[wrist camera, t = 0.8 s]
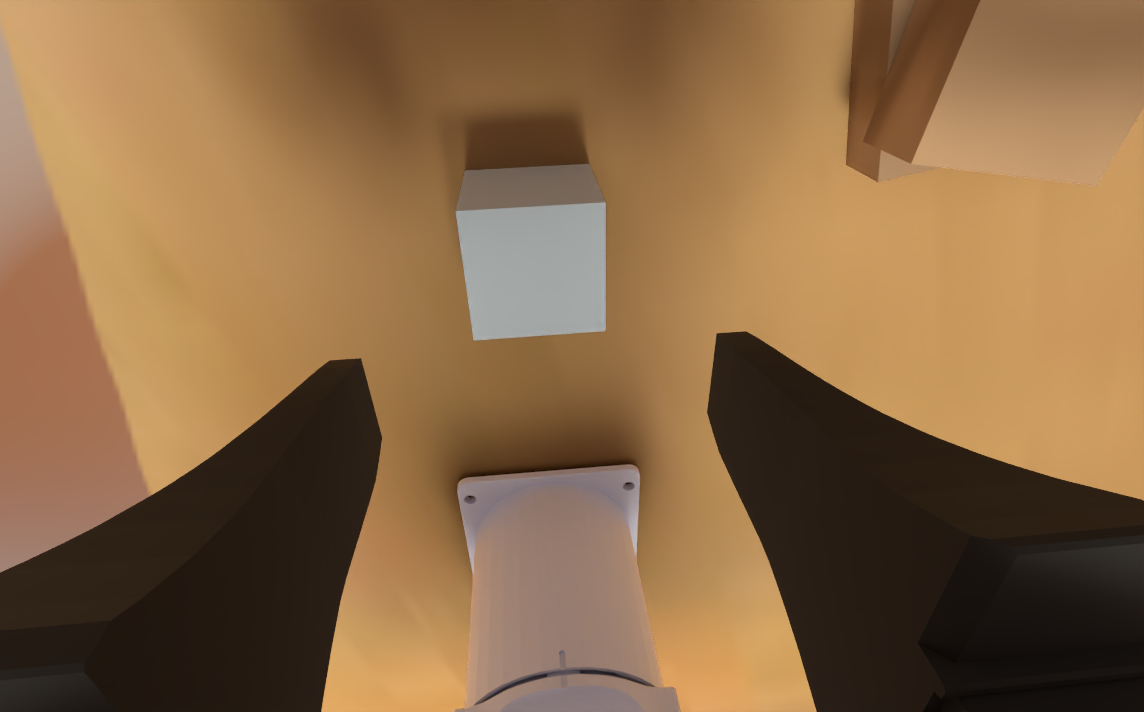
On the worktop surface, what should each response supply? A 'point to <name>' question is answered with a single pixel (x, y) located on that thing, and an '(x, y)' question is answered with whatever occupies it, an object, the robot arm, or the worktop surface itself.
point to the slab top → (1014, 87)
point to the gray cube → (533, 250)
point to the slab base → (874, 83)
